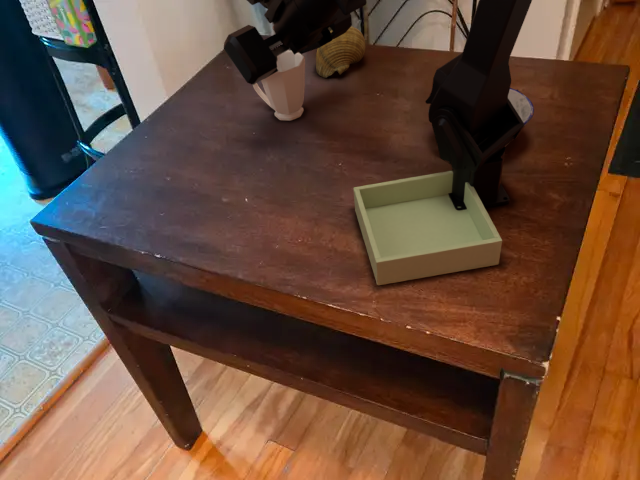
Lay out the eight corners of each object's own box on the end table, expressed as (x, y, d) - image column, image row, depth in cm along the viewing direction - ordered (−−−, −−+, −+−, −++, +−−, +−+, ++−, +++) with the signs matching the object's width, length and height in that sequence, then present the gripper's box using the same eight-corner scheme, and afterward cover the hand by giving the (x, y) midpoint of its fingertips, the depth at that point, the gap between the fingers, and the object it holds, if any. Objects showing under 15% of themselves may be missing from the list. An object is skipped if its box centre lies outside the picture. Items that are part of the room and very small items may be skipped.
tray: (498, 264, 64) (502, 240, 61) (377, 285, 64) (376, 262, 61) (461, 191, 73) (463, 168, 70) (355, 210, 73) (353, 187, 70)
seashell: (340, 100, 99) (368, 68, 92) (304, 78, 96) (330, 42, 90) (348, 62, 103) (375, 29, 97) (313, 40, 101) (339, 4, 95)
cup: (292, 130, 86) (282, 77, 80) (242, 113, 91) (230, 62, 85) (321, 107, 90) (315, 54, 84) (272, 92, 94) (262, 41, 88)
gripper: (329, -84, 75) (282, -7, 89) (215, -34, 67) (183, 41, 81) (378, -5, 77) (325, 58, 91) (273, 52, 69) (232, 111, 83)
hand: (268, 65), depth 86 cm, fingers closed on cup, 6 cm apart
